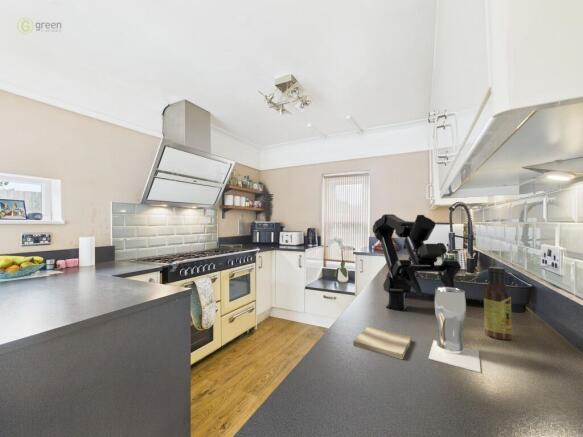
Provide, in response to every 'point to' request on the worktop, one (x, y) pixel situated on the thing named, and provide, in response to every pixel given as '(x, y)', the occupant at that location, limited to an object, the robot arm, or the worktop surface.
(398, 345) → the birch board
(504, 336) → the sauce bottle
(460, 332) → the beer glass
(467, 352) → the card
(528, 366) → the worktop surface
